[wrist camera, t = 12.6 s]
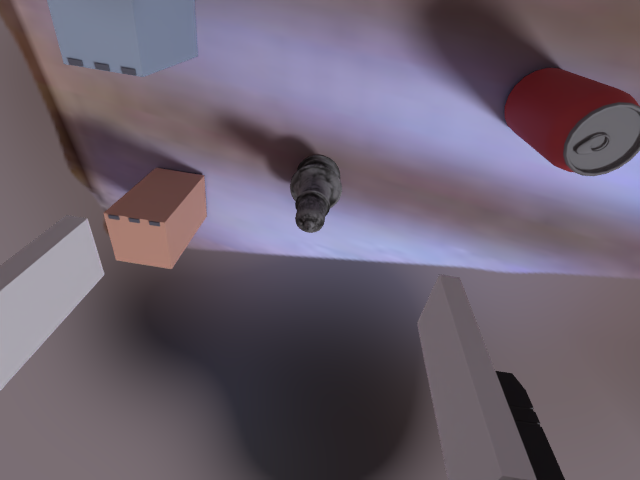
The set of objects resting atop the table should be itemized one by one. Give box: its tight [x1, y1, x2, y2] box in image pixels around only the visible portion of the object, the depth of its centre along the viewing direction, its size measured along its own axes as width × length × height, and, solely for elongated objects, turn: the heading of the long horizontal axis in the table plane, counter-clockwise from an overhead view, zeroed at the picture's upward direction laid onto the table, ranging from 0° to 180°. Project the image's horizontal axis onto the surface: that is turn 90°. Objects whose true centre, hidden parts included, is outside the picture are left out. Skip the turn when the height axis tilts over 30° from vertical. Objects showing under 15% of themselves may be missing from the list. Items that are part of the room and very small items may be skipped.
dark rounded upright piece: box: [290, 155, 342, 233], centre depth 37 cm, size 6×6×12 cm
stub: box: [104, 168, 207, 269], centre depth 40 cm, size 6×6×11 cm
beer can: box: [505, 68, 640, 176], centre depth 30 cm, size 7×7×12 cm
